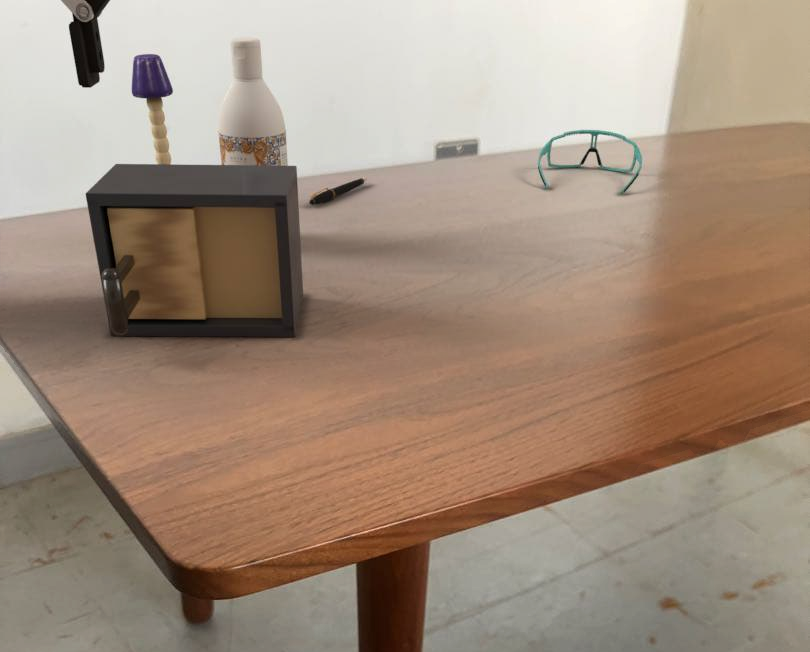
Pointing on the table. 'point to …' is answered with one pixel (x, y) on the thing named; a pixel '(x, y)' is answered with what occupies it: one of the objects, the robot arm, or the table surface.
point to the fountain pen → (334, 192)
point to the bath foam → (250, 113)
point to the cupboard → (219, 242)
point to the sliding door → (153, 266)
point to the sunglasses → (592, 149)
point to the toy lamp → (153, 98)
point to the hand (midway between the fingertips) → (21, 84)
